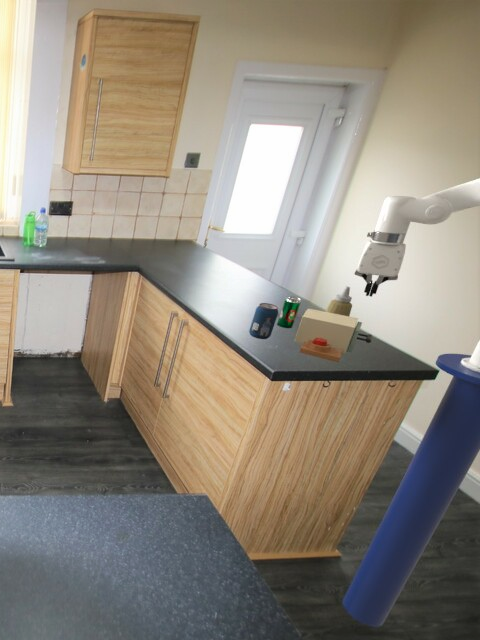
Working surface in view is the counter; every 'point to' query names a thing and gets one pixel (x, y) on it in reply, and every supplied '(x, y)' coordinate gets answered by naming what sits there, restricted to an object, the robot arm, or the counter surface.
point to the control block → (321, 351)
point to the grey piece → (354, 337)
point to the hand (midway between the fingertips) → (369, 295)
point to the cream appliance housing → (326, 328)
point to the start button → (320, 341)
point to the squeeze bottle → (341, 303)
